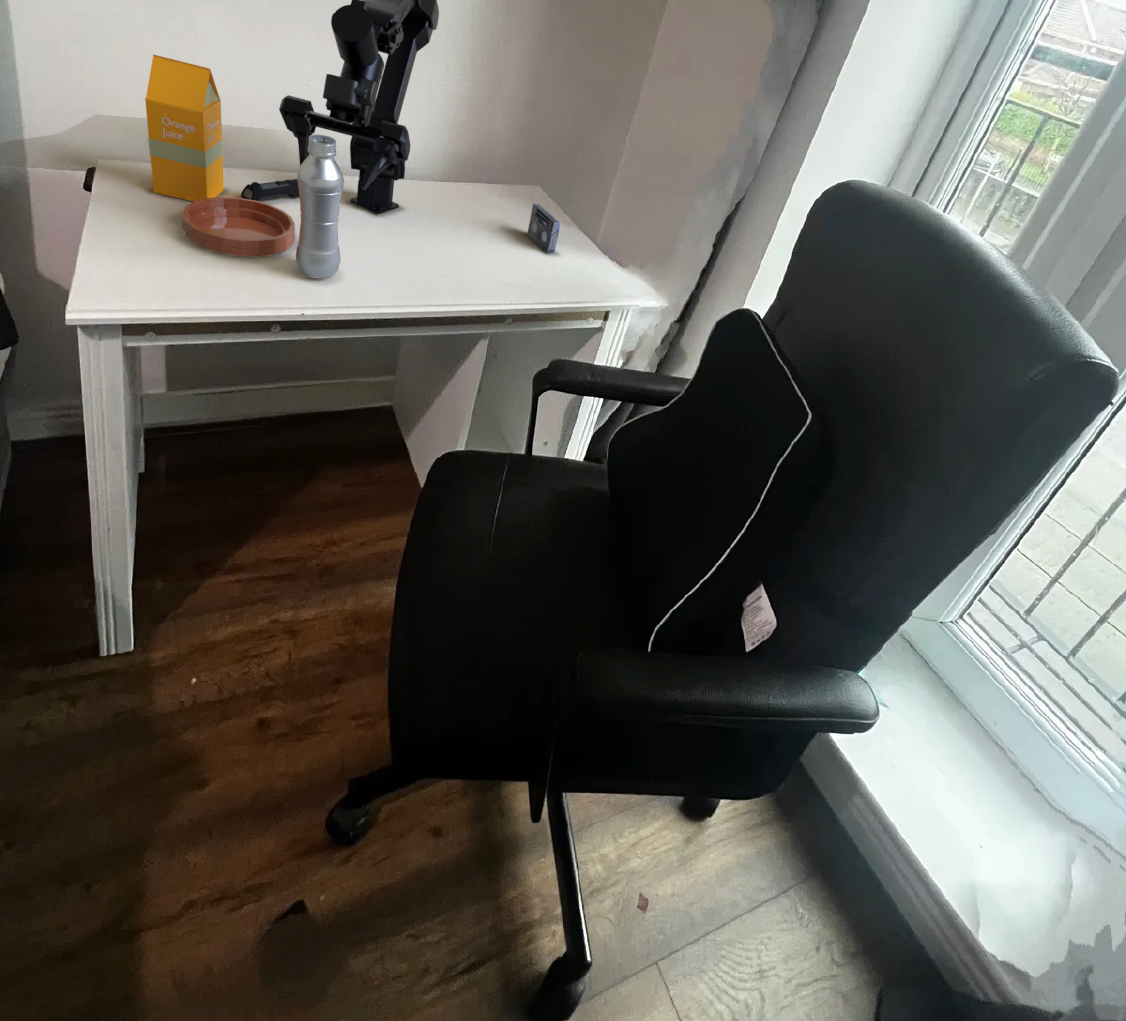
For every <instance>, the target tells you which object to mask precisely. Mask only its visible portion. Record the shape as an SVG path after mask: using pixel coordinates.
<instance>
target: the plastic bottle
mask: <svg viewBox="0 0 1126 1021" xmlns="http://www.w3.org/2000/svg"><path fill="white" fill-rule="evenodd" d="M336 149H337V141H336V139H335V138H333V137H331V136H328V135H325V134H312V135H311V136H309V146H308V152H309V153H310V154H309V156H308V157H307V158H306V159H305V160H304V162H303V163H302V165H301V166H300V165H299V167H298V171H297V178H296V179H297V180H298V188H299V196H300V197H299V205H300V206H299V207H300V208H299V209H300V225H299V234H298V235H299V236H298V241H297V246H296V250H295V260H296V266H297V268H298V270H299V271H300V272H301V273H302V274H303V275H305V276H307V277H310V278H314V279H329V278H331V277H333V276H335V275H336V273H337V272H338V271H339V269H340V265H341V250H340V245H339V227H338V226H339V215H340V207H341V200H342V195H343V190H344V183H345V179H344V175H343V172H342V170H341V168H340V166H339V164H338V163H337V161H336V160H335V157H336V156H337V150H336Z"/></svg>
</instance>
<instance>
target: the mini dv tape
mask: <svg viewBox="0 0 1126 1021" xmlns="http://www.w3.org/2000/svg"><path fill="white" fill-rule="evenodd" d="M560 228H561V222H560V221H558V219H557V218H555V217H554V216H553V215H552V214H551V213H550V212H548V211H547V210H546V209H545V208H544V207H543V206H542V205H540V204H539V203H533V204H532V209H531V214H530V219H529V224H528V229H527V233H526V234H527V236H528V237H529V238H530V239H531V240H532V241H533V242H534V243H536V245H537V246H538V247H539V248H541V250H543V251H544V252H545V253H546V254H555V250H556V247H557V242H558V238H559V232H560Z"/></svg>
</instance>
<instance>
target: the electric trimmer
mask: <svg viewBox="0 0 1126 1021" xmlns="http://www.w3.org/2000/svg"><path fill="white" fill-rule="evenodd" d="M287 197H289V198H292V199H295V198H300V196H299V188H298V180H297V178H294V179H285V180H275V181H271V182H261V183H259V182H257V181H254V182H252V183H250V184H249V183H248V184H246V185H245V186H244V188H243V189H242V191H241V193H240V198H243V199H249V200H255V201H259V202H262V201H268V200H274V199H281V198H287Z"/></svg>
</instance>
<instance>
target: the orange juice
mask: <svg viewBox="0 0 1126 1021" xmlns="http://www.w3.org/2000/svg"><path fill="white" fill-rule="evenodd" d="M148 77H149V78H148V84H147V90H146V95H145V99H144V100H145V110H146V111H145V112H146V120H147V121H146V123H147V131H148V132H147V134H148V135H147V136H148V137H147V138H148V150H149V157H150V167H151V168H150V169H151V179H152V189H153V190H152V192H153V193H155V194H159V195H164V196H167V197H168V196H169V197H171V198H172V197H173V198H177V199H180V200H181V199H182V200H186V201H190V202H194V201H197V200H201V199H205V198H215V197H218V196H219V195H220V194H222V193H223V192H224V191H225V188H224V187H225V186H224V184H225V183H224V158H223V155H224V151H223V149H224V148H223V131H222V103H221V101H222V100H221V97H220V95H219V92H218V89H217V86H216V82H215V80H214V76H213V73H212V71H211V68H209V67H205V66H202V65H198V64H193V63H189V62H185V61H181V60H177V59H174V58H169V57H165V56H161V55H157V54H152V61H151V67H150V73H149V76H148Z"/></svg>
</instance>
